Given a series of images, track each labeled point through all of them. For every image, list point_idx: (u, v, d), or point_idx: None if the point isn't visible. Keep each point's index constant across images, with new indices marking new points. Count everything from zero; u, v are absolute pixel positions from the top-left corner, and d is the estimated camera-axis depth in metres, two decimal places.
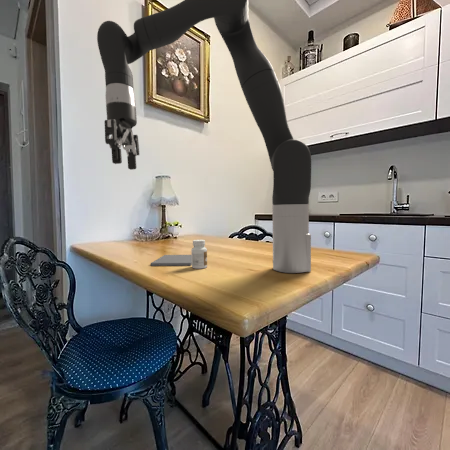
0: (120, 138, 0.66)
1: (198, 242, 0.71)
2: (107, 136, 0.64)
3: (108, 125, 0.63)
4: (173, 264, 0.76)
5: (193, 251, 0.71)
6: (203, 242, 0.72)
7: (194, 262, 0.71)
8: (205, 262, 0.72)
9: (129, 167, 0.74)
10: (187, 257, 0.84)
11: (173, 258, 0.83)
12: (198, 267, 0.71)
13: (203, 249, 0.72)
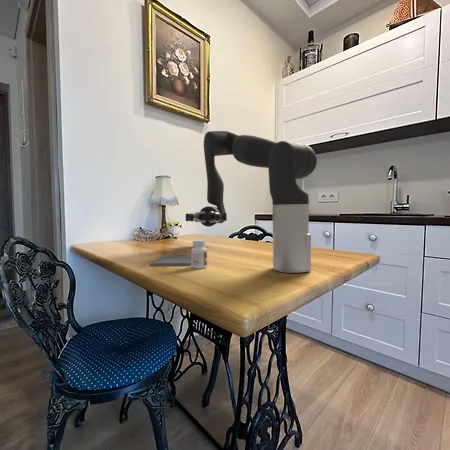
0: None
1: (198, 242, 0.71)
2: None
3: None
4: (173, 264, 0.76)
5: (193, 251, 0.71)
6: (203, 242, 0.72)
7: (194, 262, 0.71)
8: (205, 262, 0.72)
9: (216, 219, 0.84)
10: (187, 257, 0.84)
11: (173, 258, 0.83)
12: (198, 267, 0.71)
13: (203, 249, 0.72)
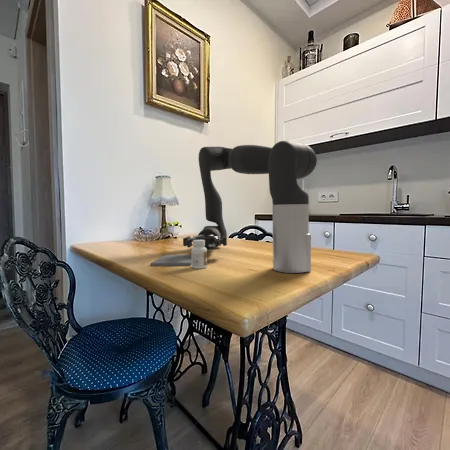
0: None
1: (198, 242, 0.71)
2: None
3: None
4: (173, 264, 0.76)
5: (193, 251, 0.71)
6: (203, 242, 0.72)
7: (194, 262, 0.71)
8: (205, 262, 0.72)
9: (215, 245, 0.79)
10: (187, 257, 0.84)
11: (173, 258, 0.83)
12: (198, 267, 0.71)
13: (203, 249, 0.72)
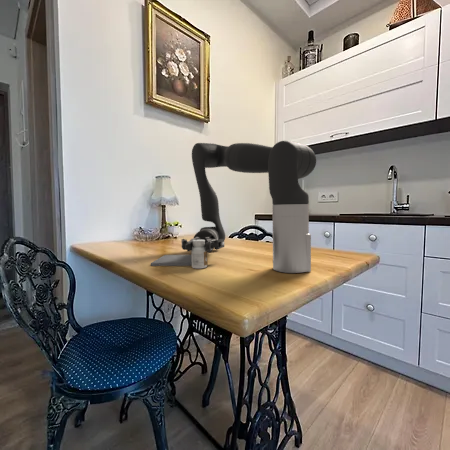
0: None
1: (198, 242, 0.71)
2: None
3: None
4: (173, 264, 0.76)
5: (193, 251, 0.71)
6: (203, 242, 0.72)
7: (194, 262, 0.71)
8: (205, 262, 0.72)
9: (205, 249, 0.71)
10: (187, 257, 0.84)
11: (173, 258, 0.83)
12: (198, 267, 0.71)
13: (203, 249, 0.72)
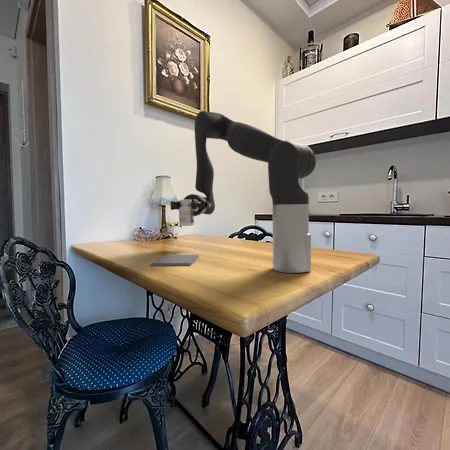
0: None
1: (185, 200, 0.75)
2: None
3: None
4: (173, 264, 0.76)
5: (180, 209, 0.76)
6: (189, 201, 0.76)
7: (181, 220, 0.76)
8: (192, 220, 0.76)
9: None
10: (187, 257, 0.84)
11: (173, 258, 0.83)
12: (185, 224, 0.75)
13: (189, 207, 0.76)
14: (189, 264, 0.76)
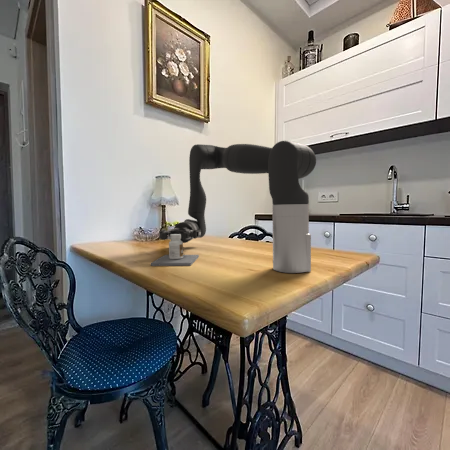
0: None
1: (174, 236, 0.81)
2: None
3: None
4: (173, 264, 0.76)
5: (170, 244, 0.81)
6: (179, 236, 0.82)
7: (170, 253, 0.81)
8: (181, 253, 0.82)
9: None
10: (187, 257, 0.84)
11: None
12: (174, 258, 0.81)
13: (179, 242, 0.81)
14: (189, 264, 0.76)
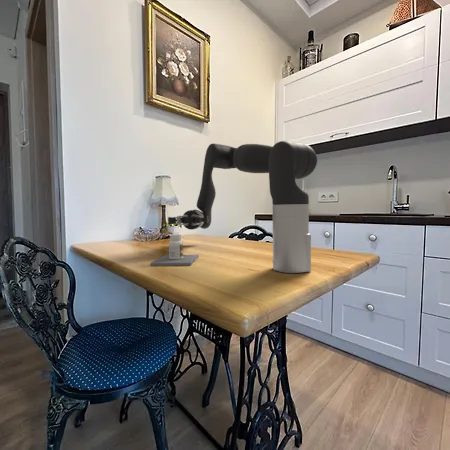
0: None
1: (174, 236, 0.81)
2: None
3: None
4: (173, 264, 0.76)
5: (170, 244, 0.81)
6: (179, 236, 0.82)
7: (170, 254, 0.81)
8: (181, 254, 0.82)
9: None
10: (187, 257, 0.84)
11: None
12: (174, 258, 0.81)
13: (179, 242, 0.81)
14: (189, 264, 0.76)
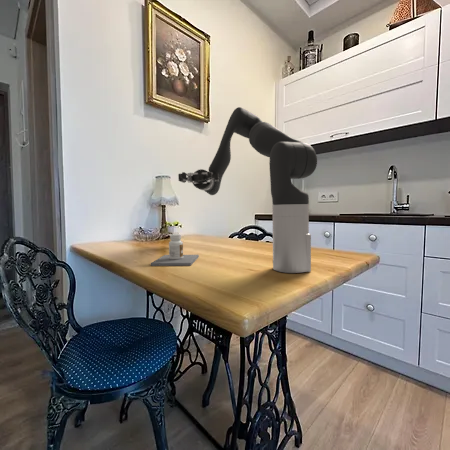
0: None
1: (174, 236, 0.81)
2: None
3: None
4: (173, 264, 0.76)
5: (170, 244, 0.81)
6: (179, 236, 0.82)
7: (170, 254, 0.81)
8: (181, 254, 0.82)
9: None
10: (187, 257, 0.84)
11: None
12: (174, 258, 0.81)
13: (179, 242, 0.81)
14: (189, 264, 0.76)
